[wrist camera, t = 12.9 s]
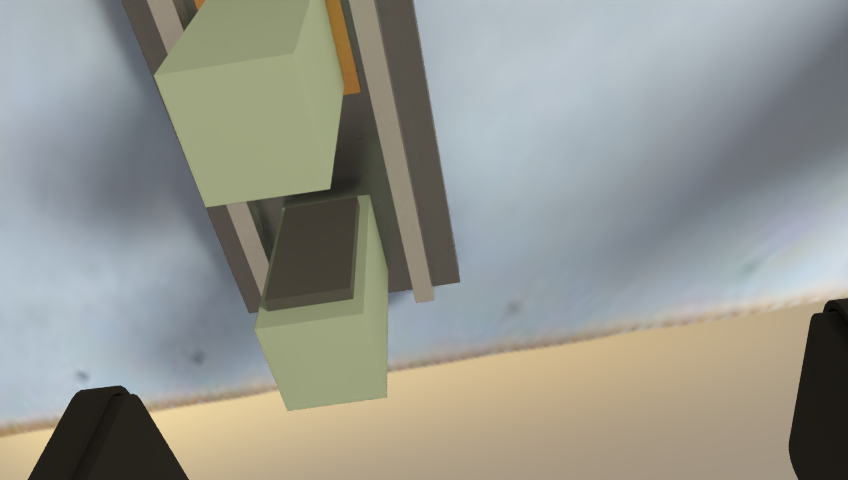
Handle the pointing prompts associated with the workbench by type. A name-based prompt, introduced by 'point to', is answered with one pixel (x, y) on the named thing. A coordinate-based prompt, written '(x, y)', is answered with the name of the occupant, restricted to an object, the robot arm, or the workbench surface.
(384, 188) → the dark grey tray
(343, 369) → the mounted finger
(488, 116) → the workbench surface
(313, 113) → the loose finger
